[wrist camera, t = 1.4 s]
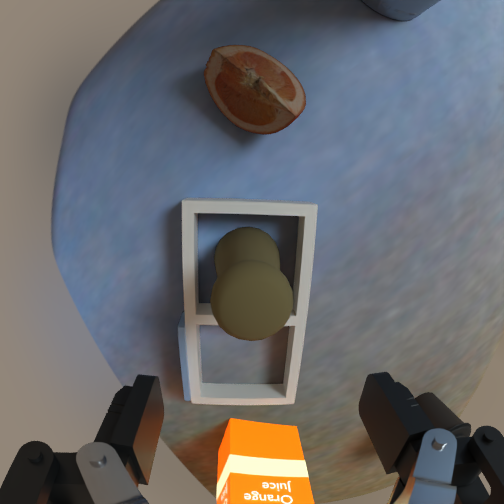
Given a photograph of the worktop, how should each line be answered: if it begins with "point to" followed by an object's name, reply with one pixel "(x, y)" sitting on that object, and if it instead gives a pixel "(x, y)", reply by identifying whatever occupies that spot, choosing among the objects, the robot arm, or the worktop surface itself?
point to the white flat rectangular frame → (203, 316)
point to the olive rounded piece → (250, 285)
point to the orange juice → (262, 465)
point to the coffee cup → (443, 415)
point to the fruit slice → (253, 89)
